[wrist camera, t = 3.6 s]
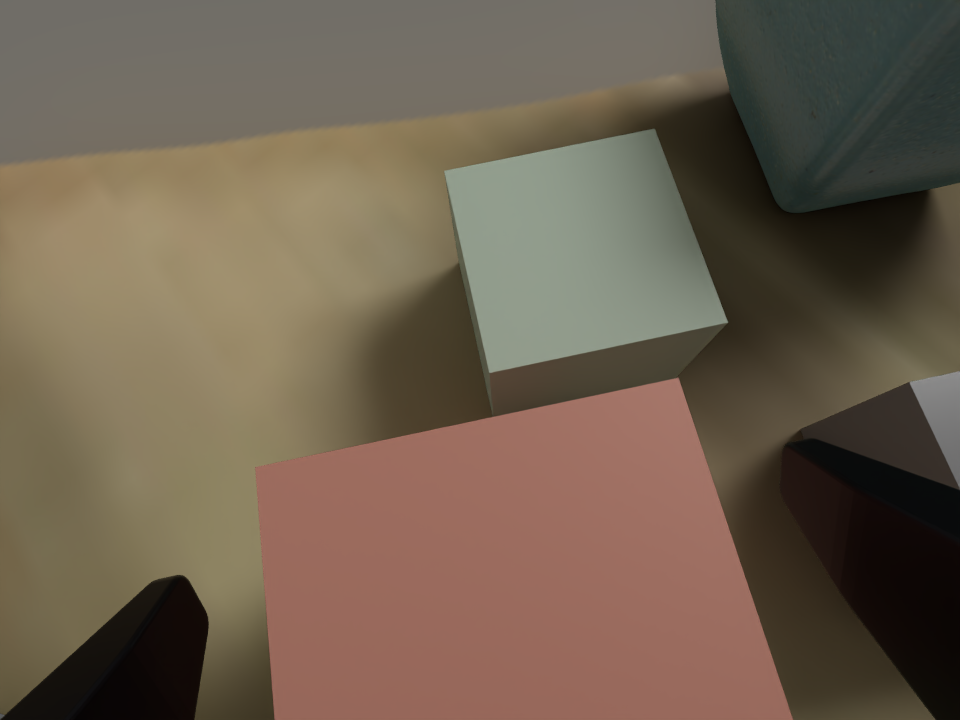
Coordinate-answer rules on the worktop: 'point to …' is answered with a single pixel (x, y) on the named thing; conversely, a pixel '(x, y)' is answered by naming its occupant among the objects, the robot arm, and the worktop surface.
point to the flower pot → (846, 95)
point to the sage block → (580, 271)
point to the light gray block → (904, 428)
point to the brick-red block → (514, 573)
